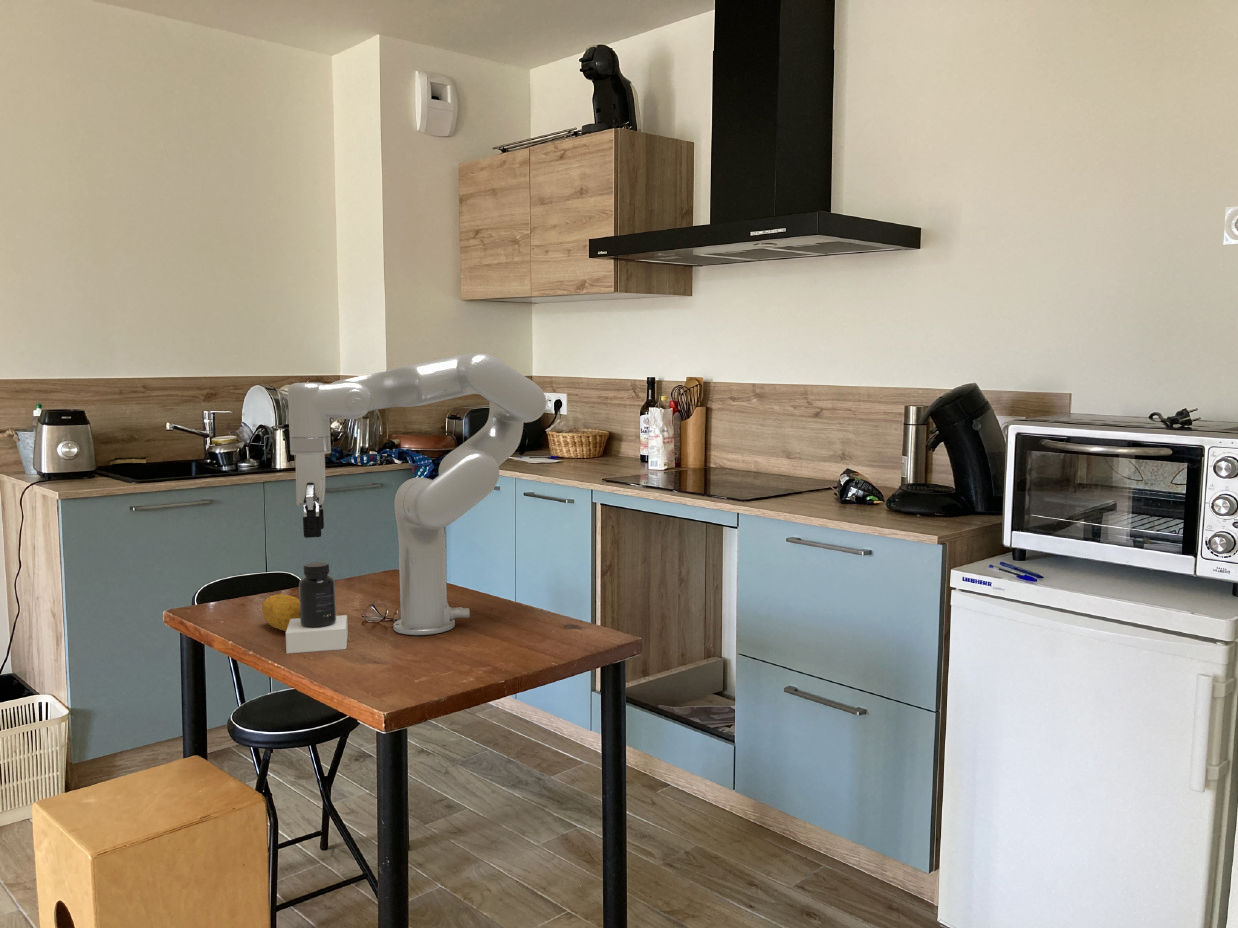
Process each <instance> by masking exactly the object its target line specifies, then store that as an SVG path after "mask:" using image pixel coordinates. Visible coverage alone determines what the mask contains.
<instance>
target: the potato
mask: <svg viewBox="0 0 1238 928" xmlns="http://www.w3.org/2000/svg"><path fill="white" fill-rule="evenodd" d="M261 611H262V615H263V618H264V620H265V622H267V624H269V625H270V626H271V627H272V628H274V629H278V630H280V631H284V632H285V633H286V631H287V628H288V625H289V622H290V619H297V618H300V601H299V598H298V597H295V596H293V595H288V594H285V593H279V594H274V595H270V596H269V597H267V598H266V599H265V600H264V601H263V603H262V609H261Z"/></svg>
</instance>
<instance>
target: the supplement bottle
mask: <svg viewBox="0 0 1238 928" xmlns="http://www.w3.org/2000/svg"><path fill="white" fill-rule="evenodd" d="M330 572H331V571H330V564H329V563H328V562H324V561H318V562H317V561H315V562H308V563H305V564H303V573H302V574H303V575H304V577H303V578H301V579H300V581H299V583H298V593H299V594H298V597H299V598H298V599H299V601H300V622H301V625H302V626H304V627H308V628H320V627H326V626H330V625H332V624H334V623H335V622H336V616H337V606H336V604H337V602H336V601H337V600H336V582H335V579H334V578H333V577H332V576H331V575H329V574H330Z"/></svg>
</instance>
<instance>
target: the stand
mask: <svg viewBox="0 0 1238 928" xmlns="http://www.w3.org/2000/svg"><path fill="white" fill-rule="evenodd" d="M348 627H349V626H348V615H347V614H344V615H343V614H342V615H336V622H335V623H334V624H332V625H330V626H326V627H320V628H308V627H304V626H302V625H301V622H300V618H297V619H290V622H289V625H288V628H287V631H286V632H285V647H286V648H285V649H286V651H285V652H286V654H297V653H299V654H301V653H310V652H311V653H312V652H324V651H325V652H326V651H337V650H338V651H339V650H346V649H347V645H348V634H349V633H348V632H349V631H348Z"/></svg>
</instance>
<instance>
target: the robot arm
mask: <svg viewBox="0 0 1238 928" xmlns="http://www.w3.org/2000/svg"><path fill="white" fill-rule="evenodd" d="M473 394H474V395H480V396H481V397H483V398H485V399H486V400H487V401H488V402H489V413H488V418H487V421H486V423H485V424H484V425H483V426H482V427H481V428H480V429H479V430H478V431H477V432H476V433H475V434H473V435H472V436H471V437H469V438H468V439H467V440H466V441H464V442H463V443H462V444H460V445H459V446H457V447H456V448H454V449H453V450H451V451H450V452H449V453H447V454H446V455H445V456H444V457H443V459H442V460H441V462H440V464H439V467H438V476H436V477H435V478H433V479H431V478H427V477H419V476H418V477H413V478H410V479H407V480H406V481H404V482H403V483H402V484H401V485H400V486H399V487H398V489H397V491H396V494H395V497H394V513H395V514H394V515H395V521H396V527H397V536H398V538H397V539H398V568H399V569H398V570H399V571H398V572H399V598H400V599H399V601H400V619H398V620H396V621H395V622H394V623H393V630H394V631H395V632H396V633H399V634H402V635H408V636H409V635H410V636H425V635H426V636H427V635H429V636H430V635H436V634H440V633H445V632H447V631H450V630H452V629H453V628H455V626H456V621H455V618H458V619H459V618H460V619H462V618H470V607H468V608H466V607H465V608H463V607H462V606H459V607H458V606H457V607H452V606H449V602H448V600H447V598H448V597H447V593H448V592H447V568H446V567H447V563H446V561H447V560H446V559H447V558H446V555H447V554H446V552H447V551H446V549H447V548H446V536H445V530H444V529H445V527H448V526H450V525H451V524H454V522H455V521H457V520H458V519H460V518H461V517H462V516H464V515H465V514H467V512H468V511H470V510H472V508H474V507H475V506H476V505H478V504H479V503H480V502H482V501H483V500H484V499H485V498H486V497H487V496H489V495H490V494H491V493H492V491H494V488H495V487H496V486H497V483H498V481H499V479H500V478H499V477H500V466H501V465H502V464H503V463H504V462H506V461H507V460H508V459H509V458H511V456H512V455H513V454H514V453H515V452H516V450H517V449H518V447H519V446H520V443H521V439H522V436H523V432H524V431H523V430H524V423H532V422H534V421H536V420H537V421H538V419H539V418H540V417H542V416H543V414H544V413H545V411H546V407H547V398H546V395H545V392H544V391H543V389H542V388H541V387H540V386H539V385H538V384H537V383H535V381H533V380H531V379H530V378H528V377H527V376H525V375H523V374H522V373H520V372H519V371H517V370H515V369H514V368H513V367H511V366H509V365H508V364H506V363H505V362H503V361H502V360H500V359H498V358H497V357H495V356H494V355H491V354H489V353H486V352H476V353H475V352H474V353H470V352H469V353H464V354H463V353H462V354H459V355H457V354H456V355H454V356H447V357H443V358H439V359H434V360H427V361H424V362H419V363H418V362H417V363H413V364H408V365H404V366H403V365H402V366H400V367H396V368H393V369H389V370H385V371H379V372H375V373H370V374H365V375H360V376H354V377H350V378H344V379H339V380H336V381H333V382H330V383H323V382H309V381H308V382H295V383H291V384H290V385H289V386H288V389H287V404H288V405H287V406H288V427H289V451H290V455H292V456H295V494H296V495H295V497H296V502H295V503H296V504H295V505H296V506H298V507H300V506H301V505H302V504H303V516H302V525H303V527H302V529H303V530H302V531H303V537H304V538H305V539H308V538H309V539H310V538H321V537H322V530H323V529H324V528H325V521H324V520H325V519H324V517H325V516H324V509H323V504H324V501H325V498H326V497H325V494H326V456H325V455H328V454H331V453H332V447H331V445H332V444H331V423H330V422H331V421H330V419H331V418H335V419H336V418H337V419H345V420H356V419H360V418H363V417H364V416H365V415H367V414H368V413H369V412H372V411H376V410H382V409H388V408H389V409H390V408H411V407H417V406H418V407H419V406H425V405H430V404H433V403H437V402H442V401H446V400H449V399H456V398H460V397H465V396H469V395H473Z"/></svg>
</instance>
